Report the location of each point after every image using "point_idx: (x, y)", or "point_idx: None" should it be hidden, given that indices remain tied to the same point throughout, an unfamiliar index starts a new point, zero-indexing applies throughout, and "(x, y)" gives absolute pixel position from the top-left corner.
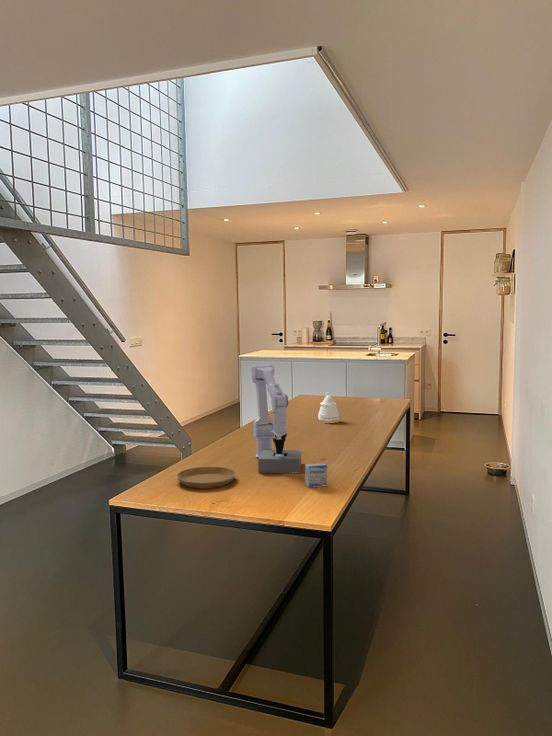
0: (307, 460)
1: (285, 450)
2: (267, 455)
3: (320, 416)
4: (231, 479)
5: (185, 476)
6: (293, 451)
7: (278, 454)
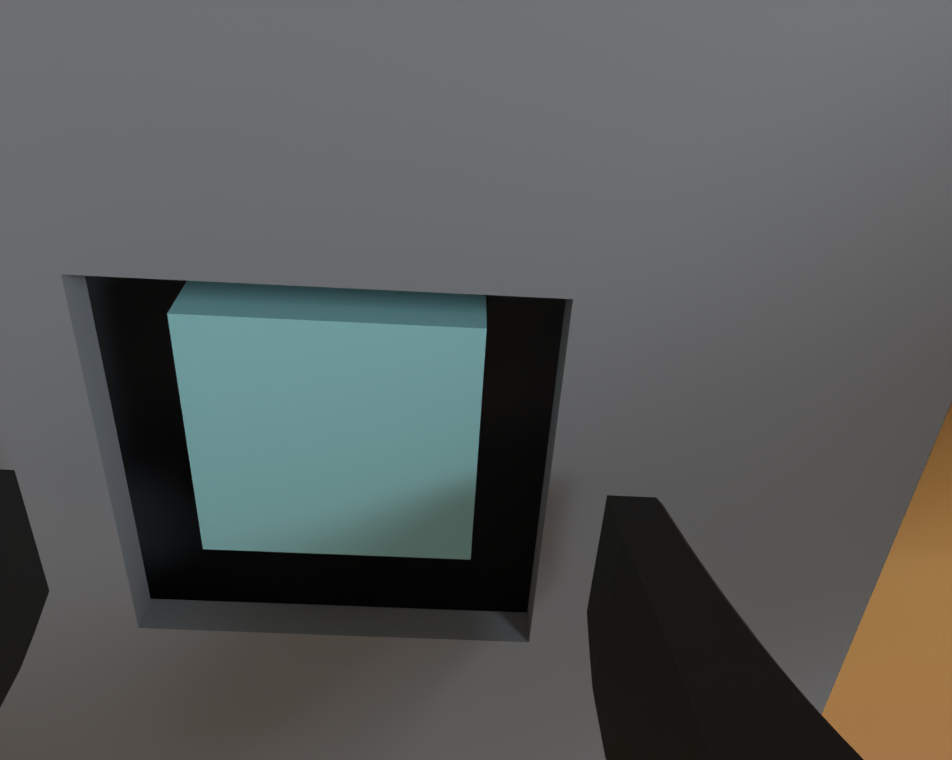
0: (847, 699)
1: (811, 604)
2: (113, 59)
3: None
4: None
5: None
6: None
7: (437, 420)
